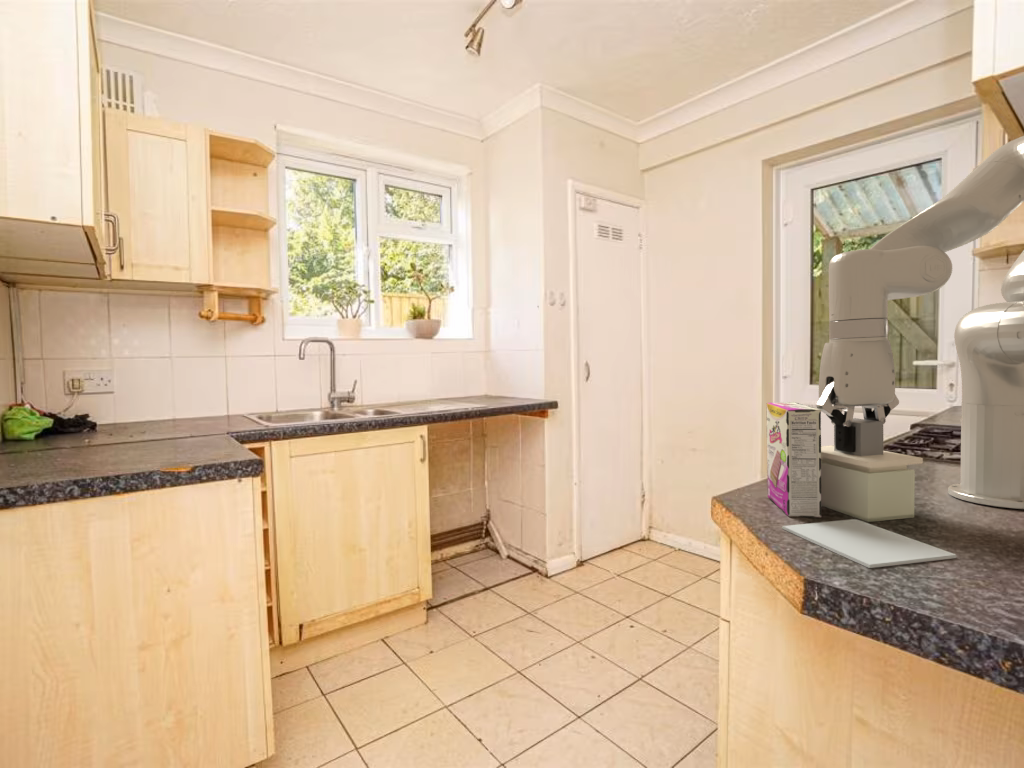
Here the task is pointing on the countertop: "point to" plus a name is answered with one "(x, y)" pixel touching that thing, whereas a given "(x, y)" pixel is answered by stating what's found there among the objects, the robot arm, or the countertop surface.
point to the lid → (867, 451)
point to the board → (867, 543)
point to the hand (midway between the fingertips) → (858, 448)
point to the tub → (868, 492)
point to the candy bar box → (794, 458)
